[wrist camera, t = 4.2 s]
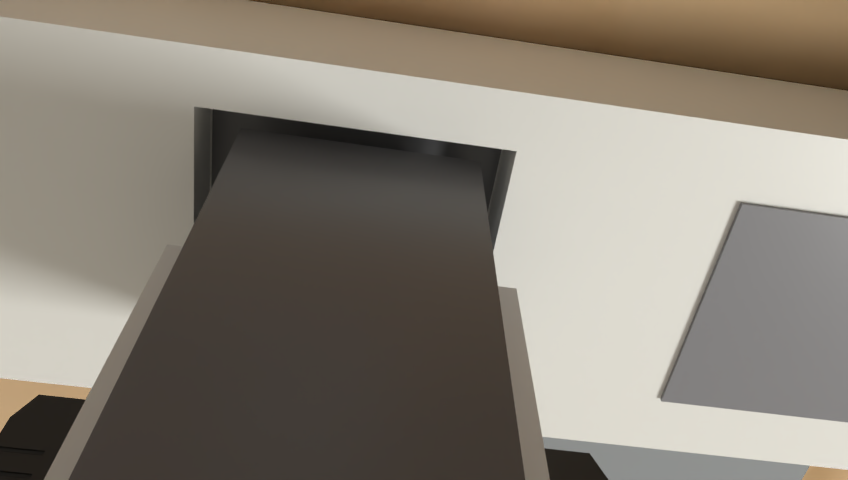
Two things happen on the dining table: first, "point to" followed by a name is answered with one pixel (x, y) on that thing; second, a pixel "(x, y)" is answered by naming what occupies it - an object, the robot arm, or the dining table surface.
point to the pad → (675, 463)
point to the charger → (321, 329)
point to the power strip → (504, 192)
